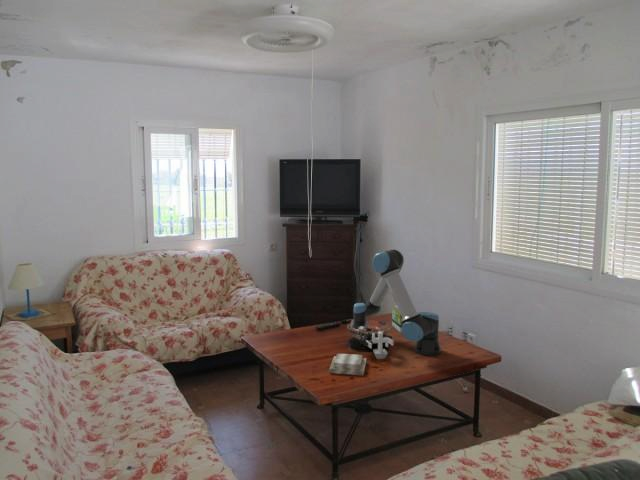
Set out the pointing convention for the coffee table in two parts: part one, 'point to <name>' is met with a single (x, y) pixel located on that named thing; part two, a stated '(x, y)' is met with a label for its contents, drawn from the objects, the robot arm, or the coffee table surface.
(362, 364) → the plinth
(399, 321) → the tea box
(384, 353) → the figurine
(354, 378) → the coffee table surface
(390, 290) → the robot arm
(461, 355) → the coffee table surface
